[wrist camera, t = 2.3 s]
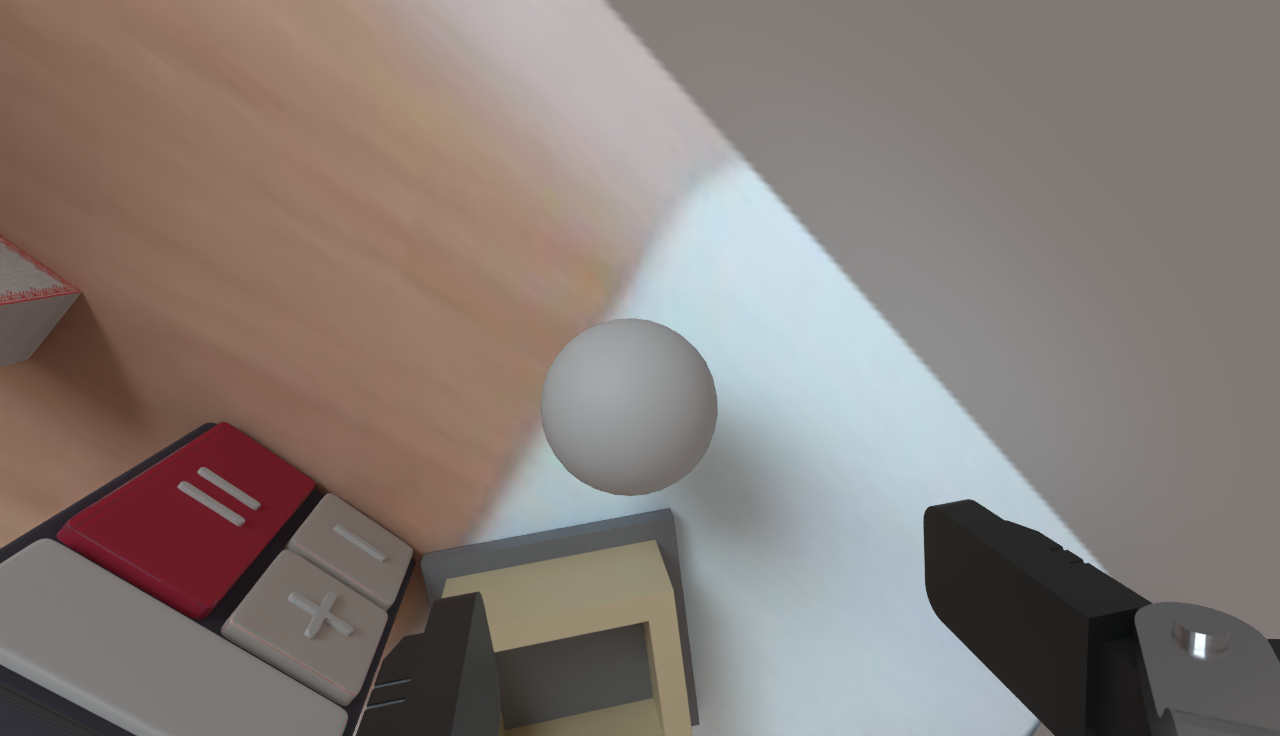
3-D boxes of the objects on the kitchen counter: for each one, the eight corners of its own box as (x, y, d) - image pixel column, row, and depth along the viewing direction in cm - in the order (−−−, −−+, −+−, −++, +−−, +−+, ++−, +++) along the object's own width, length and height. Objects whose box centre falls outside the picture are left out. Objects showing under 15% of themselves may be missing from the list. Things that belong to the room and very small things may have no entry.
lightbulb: (693, 326, 31) (773, 383, 20) (638, 440, 32) (686, 553, 21) (574, 271, 30) (593, 301, 19) (519, 392, 30) (508, 486, 20)
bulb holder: (424, 553, 31) (400, 621, 26) (669, 508, 33) (694, 564, 27) (471, 760, 34) (458, 858, 29) (695, 710, 36) (722, 796, 30)
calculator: (428, 546, 31) (332, 826, 17) (371, 611, 32) (229, 941, 17) (222, 405, 29) (-105, 596, 14) (162, 478, 29) (-218, 738, 14)
